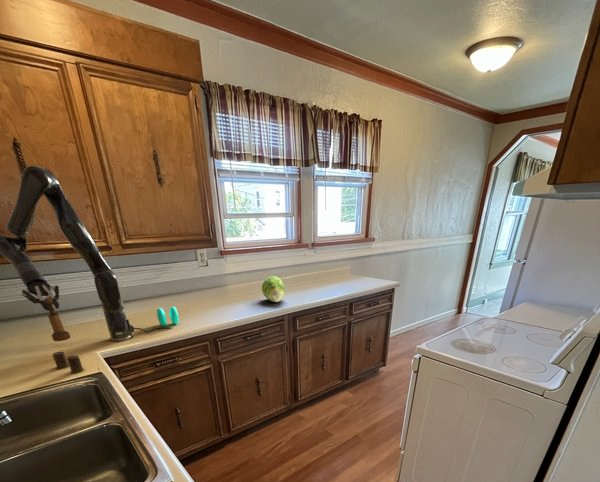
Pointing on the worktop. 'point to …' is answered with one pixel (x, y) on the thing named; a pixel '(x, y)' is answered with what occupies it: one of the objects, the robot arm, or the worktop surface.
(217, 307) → the worktop surface
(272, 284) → the lettuce
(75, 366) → the far peg
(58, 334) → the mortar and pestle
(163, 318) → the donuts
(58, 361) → the middle peg
